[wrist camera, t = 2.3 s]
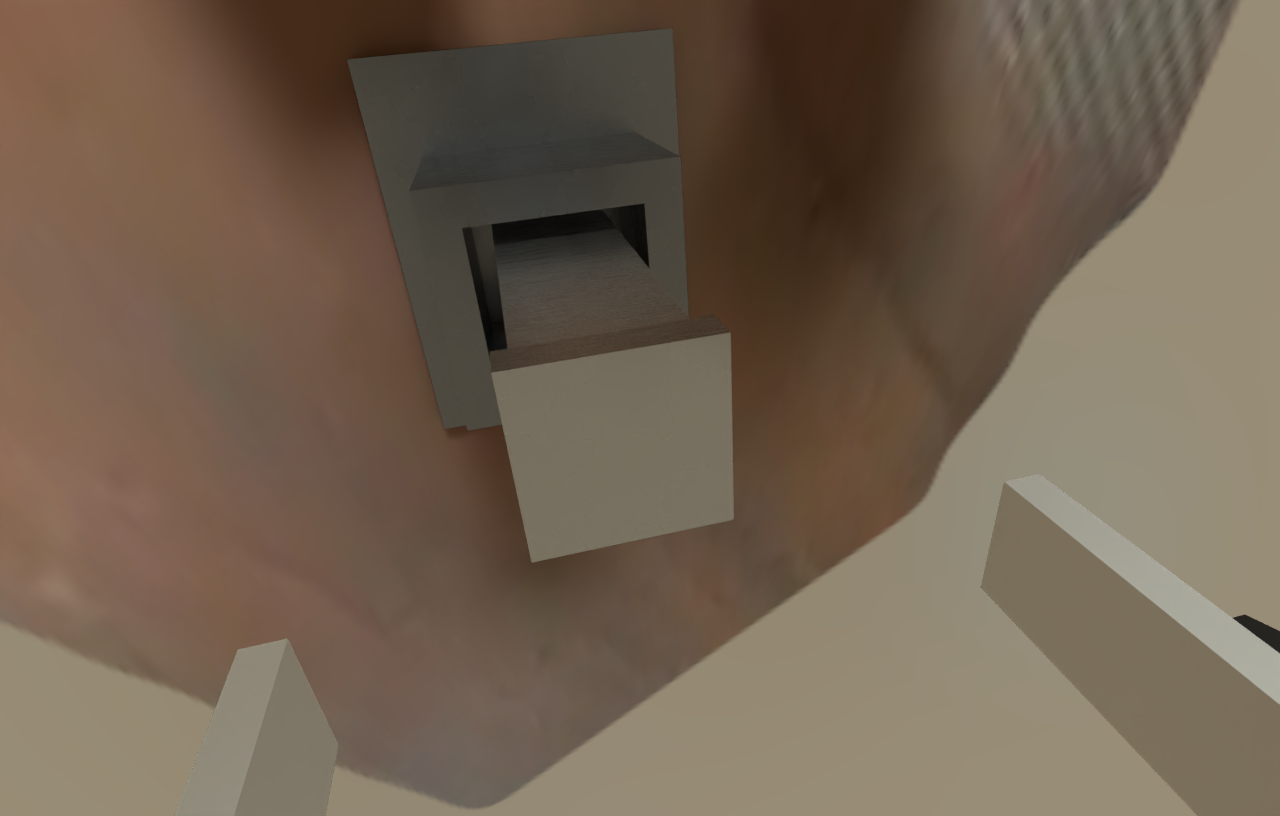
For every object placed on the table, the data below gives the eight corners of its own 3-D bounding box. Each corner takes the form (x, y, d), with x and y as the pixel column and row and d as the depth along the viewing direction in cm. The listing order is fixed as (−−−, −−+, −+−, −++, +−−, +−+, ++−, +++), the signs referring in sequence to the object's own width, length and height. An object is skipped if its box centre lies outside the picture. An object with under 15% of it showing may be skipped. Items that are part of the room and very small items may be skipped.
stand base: (350, 59, 29) (300, 66, 20) (667, 28, 31) (743, 23, 22) (444, 420, 38) (437, 532, 29) (685, 377, 40) (745, 469, 31)
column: (479, 199, 31) (491, 372, 15) (596, 184, 32) (731, 332, 16) (501, 313, 34) (532, 565, 18) (609, 297, 35) (734, 522, 19)
